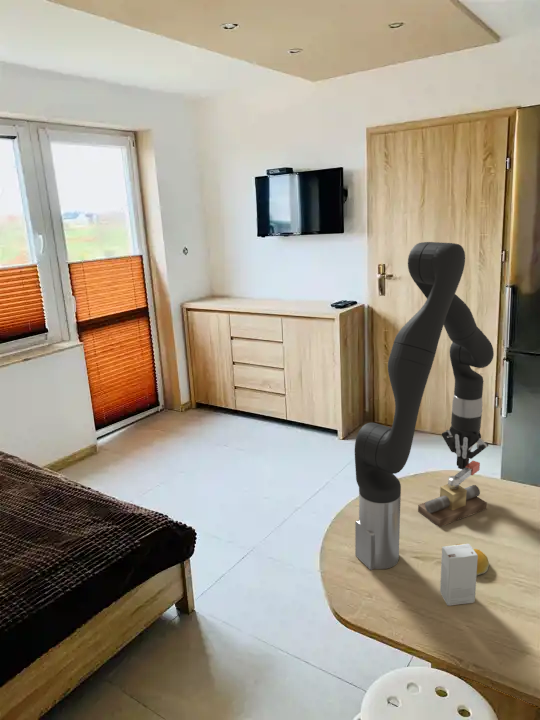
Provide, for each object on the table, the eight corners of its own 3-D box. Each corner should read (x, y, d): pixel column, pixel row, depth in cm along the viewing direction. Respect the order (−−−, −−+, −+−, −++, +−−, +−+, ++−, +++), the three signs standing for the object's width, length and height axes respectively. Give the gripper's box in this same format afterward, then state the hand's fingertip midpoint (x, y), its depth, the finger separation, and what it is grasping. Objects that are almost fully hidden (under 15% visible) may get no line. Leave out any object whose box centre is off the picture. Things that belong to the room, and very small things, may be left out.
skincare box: (466, 589, 120) (469, 541, 117) (475, 604, 116) (479, 555, 112) (438, 592, 120) (441, 544, 116) (446, 607, 116) (449, 558, 112)
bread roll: (481, 582, 123) (482, 567, 121) (441, 567, 128) (442, 552, 127) (493, 562, 129) (495, 547, 127) (455, 548, 134) (456, 534, 133)
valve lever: (455, 490, 144) (456, 482, 144) (445, 486, 146) (446, 478, 146) (480, 470, 153) (481, 463, 152) (471, 467, 155) (471, 459, 154)
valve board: (439, 527, 142) (440, 502, 140) (418, 511, 149) (418, 488, 146) (486, 509, 148) (488, 485, 146) (464, 494, 155) (465, 472, 153)
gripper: (436, 408, 151) (433, 465, 157) (483, 422, 142) (478, 482, 148) (451, 399, 156) (447, 455, 162) (497, 412, 147) (491, 471, 153)
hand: (462, 468), depth 155 cm, fingers closed
